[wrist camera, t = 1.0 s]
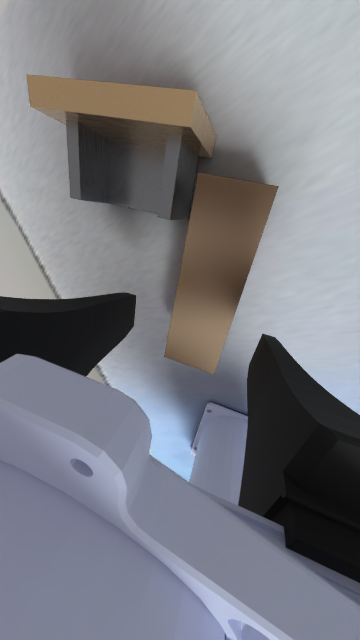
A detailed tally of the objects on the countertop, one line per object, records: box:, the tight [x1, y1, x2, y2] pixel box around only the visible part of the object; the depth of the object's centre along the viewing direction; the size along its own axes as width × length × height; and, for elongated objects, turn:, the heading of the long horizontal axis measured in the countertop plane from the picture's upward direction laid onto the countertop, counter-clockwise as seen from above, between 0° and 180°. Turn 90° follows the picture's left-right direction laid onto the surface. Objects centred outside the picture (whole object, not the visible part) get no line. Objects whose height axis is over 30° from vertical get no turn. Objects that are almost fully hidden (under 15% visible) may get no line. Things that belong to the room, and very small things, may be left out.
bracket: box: [27, 75, 216, 220], centre depth 13 cm, size 5×9×6 cm, turn 80°
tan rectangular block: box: [164, 172, 279, 374], centre depth 15 cm, size 12×4×5 cm, turn 169°
